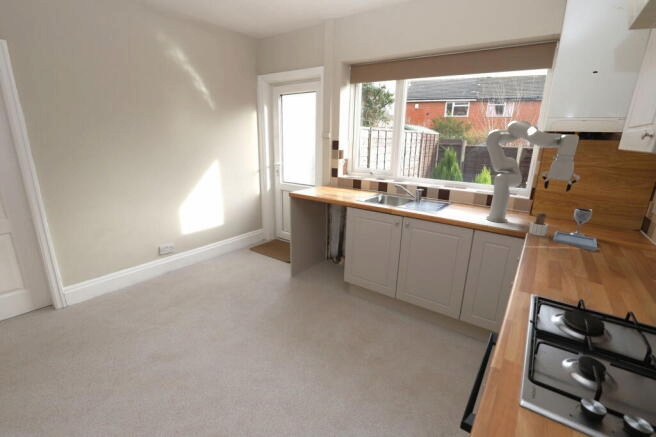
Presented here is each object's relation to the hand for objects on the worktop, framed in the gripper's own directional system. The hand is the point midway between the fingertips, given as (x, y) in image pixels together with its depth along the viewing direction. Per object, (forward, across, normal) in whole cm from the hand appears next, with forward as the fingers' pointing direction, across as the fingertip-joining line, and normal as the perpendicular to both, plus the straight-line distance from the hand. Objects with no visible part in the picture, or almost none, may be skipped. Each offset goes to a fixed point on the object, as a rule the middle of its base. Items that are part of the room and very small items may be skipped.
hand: (556, 189), depth 167 cm
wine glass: (+27, +12, +20) cm, 36 cm away
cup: (+27, -3, -3) cm, 27 cm away
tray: (+27, +14, -1) cm, 30 cm away
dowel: (+26, -3, -3) cm, 26 cm away
